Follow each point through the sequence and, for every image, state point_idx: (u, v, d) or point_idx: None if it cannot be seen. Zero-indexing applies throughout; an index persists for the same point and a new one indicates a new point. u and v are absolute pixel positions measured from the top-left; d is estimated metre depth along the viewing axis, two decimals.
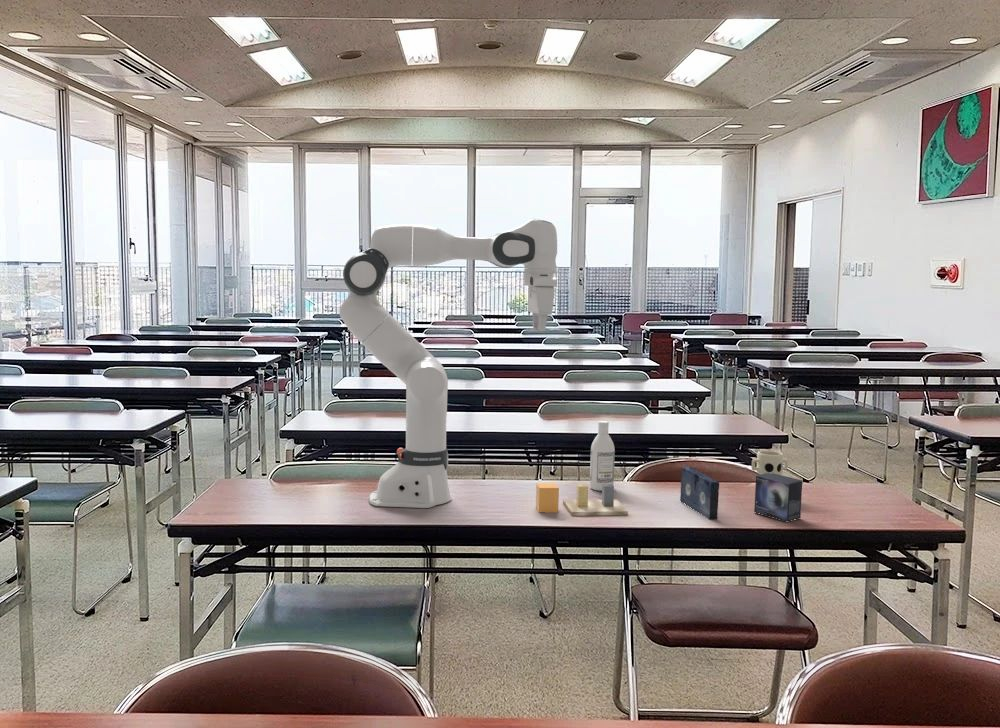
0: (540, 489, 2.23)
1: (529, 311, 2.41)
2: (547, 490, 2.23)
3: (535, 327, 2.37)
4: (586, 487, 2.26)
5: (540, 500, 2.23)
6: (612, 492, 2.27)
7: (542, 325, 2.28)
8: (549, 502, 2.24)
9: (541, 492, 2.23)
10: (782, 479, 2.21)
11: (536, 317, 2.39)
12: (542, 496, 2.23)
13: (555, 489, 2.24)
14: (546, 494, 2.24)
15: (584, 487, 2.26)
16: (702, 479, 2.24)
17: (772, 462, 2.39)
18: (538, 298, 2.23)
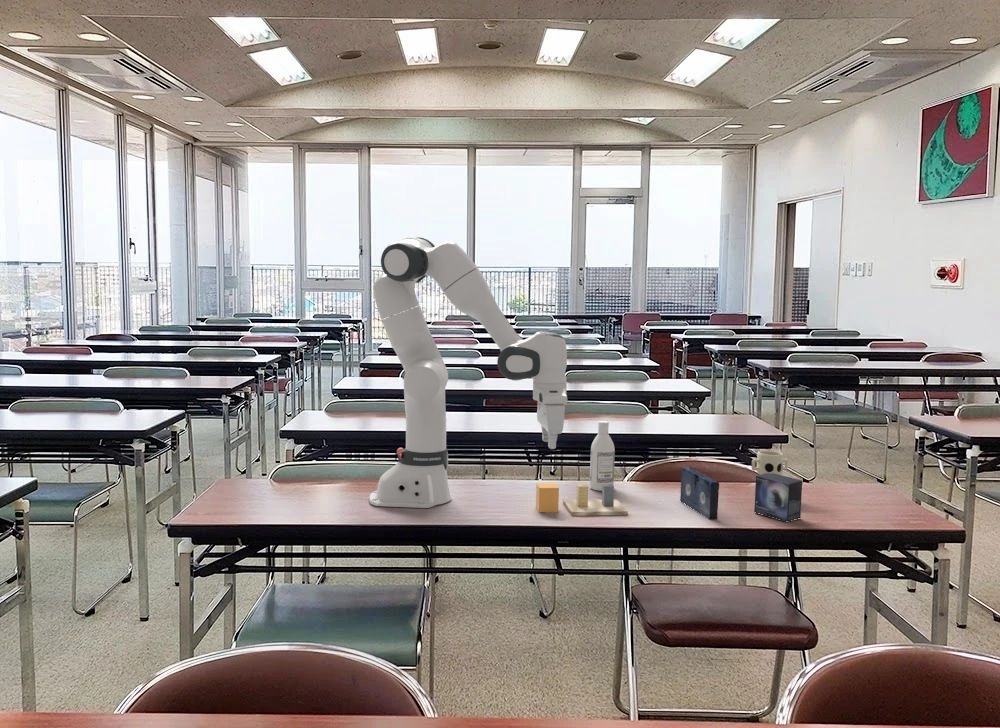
0: (540, 489, 2.23)
1: (538, 421, 2.32)
2: (547, 490, 2.23)
3: (544, 440, 2.29)
4: (586, 487, 2.26)
5: (540, 500, 2.23)
6: (612, 492, 2.27)
7: (552, 442, 2.19)
8: (549, 502, 2.24)
9: (541, 492, 2.23)
10: (782, 479, 2.21)
11: (545, 429, 2.30)
12: (542, 496, 2.23)
13: (555, 489, 2.24)
14: (546, 494, 2.24)
15: (584, 487, 2.26)
16: (702, 479, 2.24)
17: (772, 462, 2.39)
18: (548, 417, 2.14)
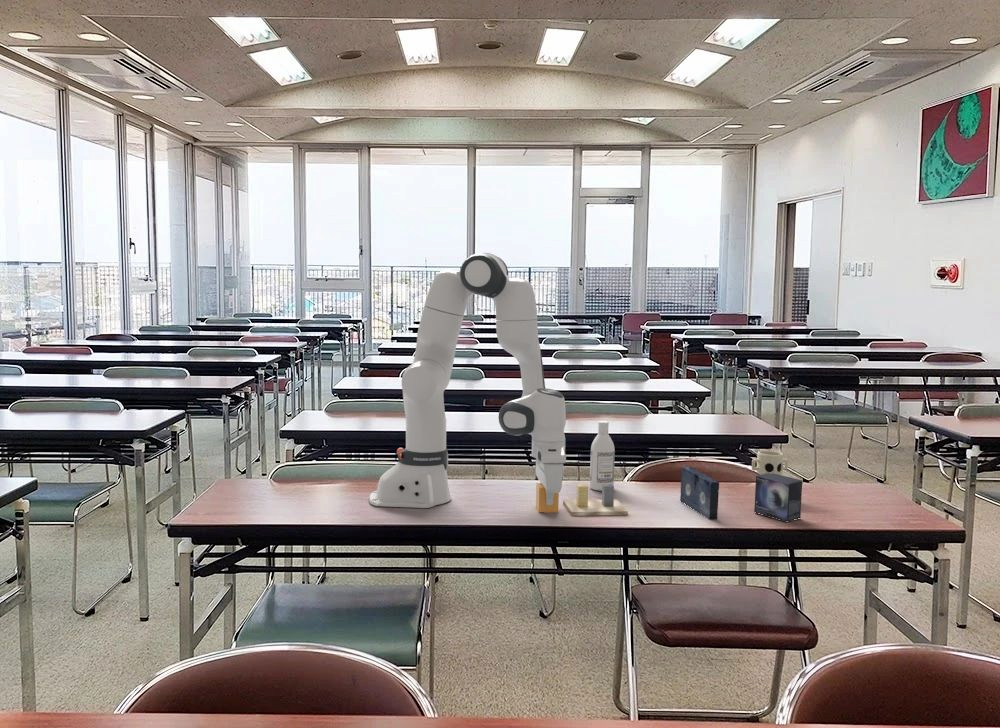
0: (540, 489, 2.23)
1: None
2: None
3: None
4: (586, 487, 2.26)
5: (540, 500, 2.24)
6: (612, 492, 2.27)
7: (549, 499, 2.22)
8: None
9: (541, 492, 2.23)
10: (782, 479, 2.21)
11: None
12: (542, 496, 2.23)
13: None
14: None
15: (584, 487, 2.26)
16: (702, 479, 2.24)
17: (772, 462, 2.39)
18: (546, 476, 2.16)
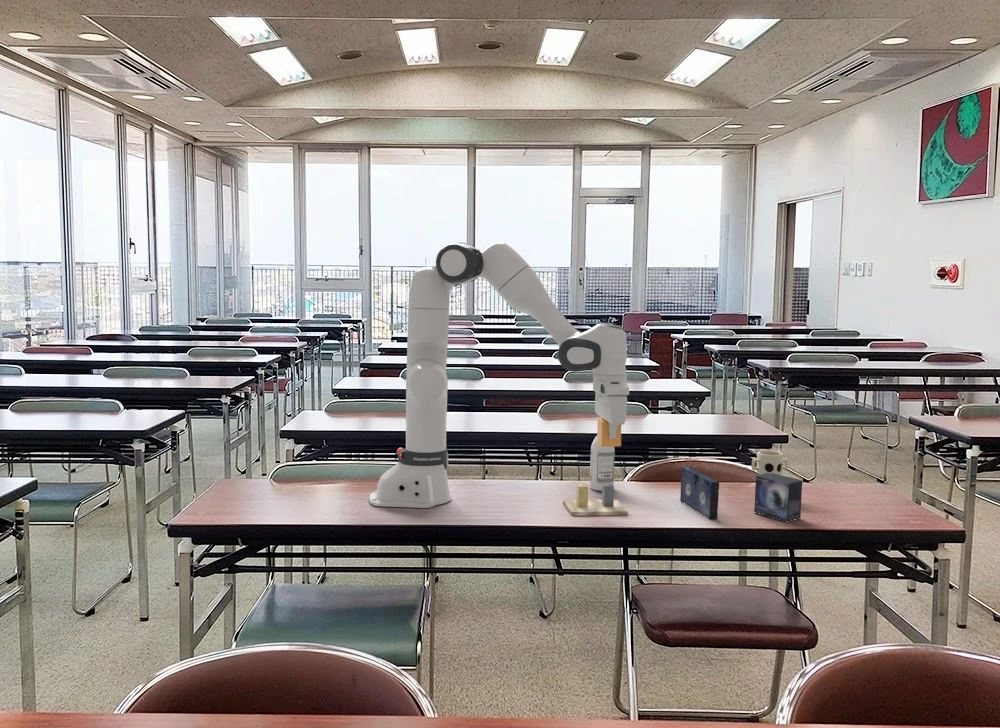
0: (603, 423, 2.23)
1: (596, 413, 2.34)
2: None
3: None
4: (586, 487, 2.26)
5: (603, 434, 2.23)
6: (612, 492, 2.27)
7: (612, 432, 2.22)
8: None
9: (604, 426, 2.23)
10: (782, 479, 2.21)
11: None
12: (605, 430, 2.23)
13: None
14: None
15: (584, 487, 2.26)
16: (702, 479, 2.24)
17: (772, 462, 2.39)
18: (611, 408, 2.16)
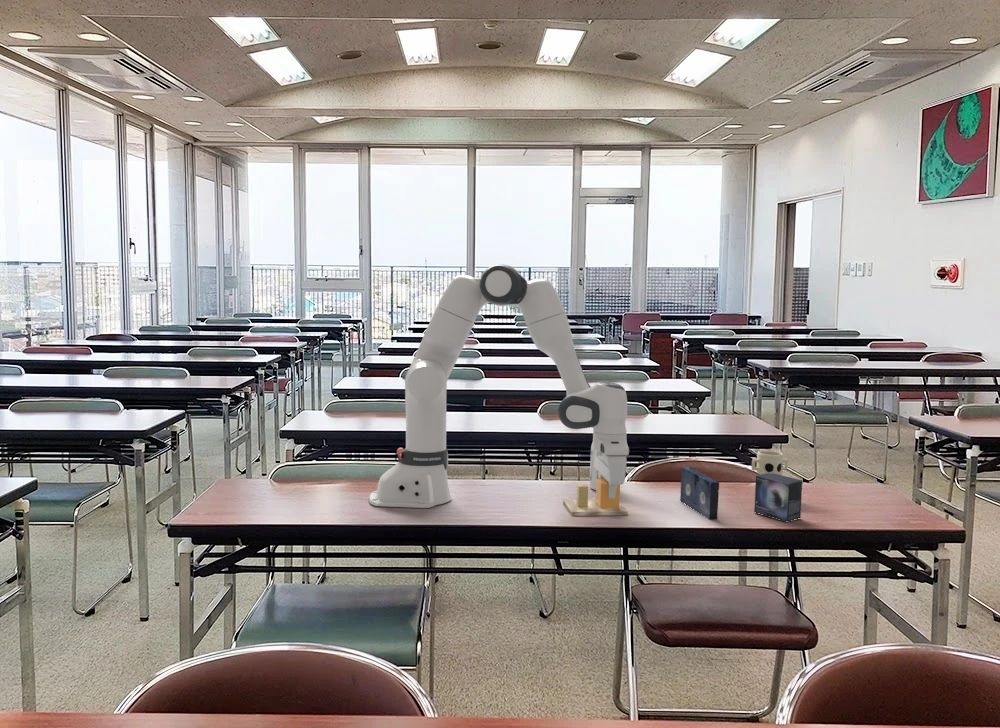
0: (602, 485, 2.25)
1: None
2: (608, 486, 2.25)
3: None
4: (586, 487, 2.26)
5: (601, 496, 2.25)
6: None
7: (612, 492, 2.23)
8: (610, 498, 2.26)
9: (603, 487, 2.25)
10: (782, 479, 2.21)
11: (603, 477, 2.33)
12: (603, 492, 2.25)
13: None
14: (607, 490, 2.25)
15: (584, 487, 2.26)
16: (702, 479, 2.24)
17: (772, 462, 2.39)
18: (610, 468, 2.17)
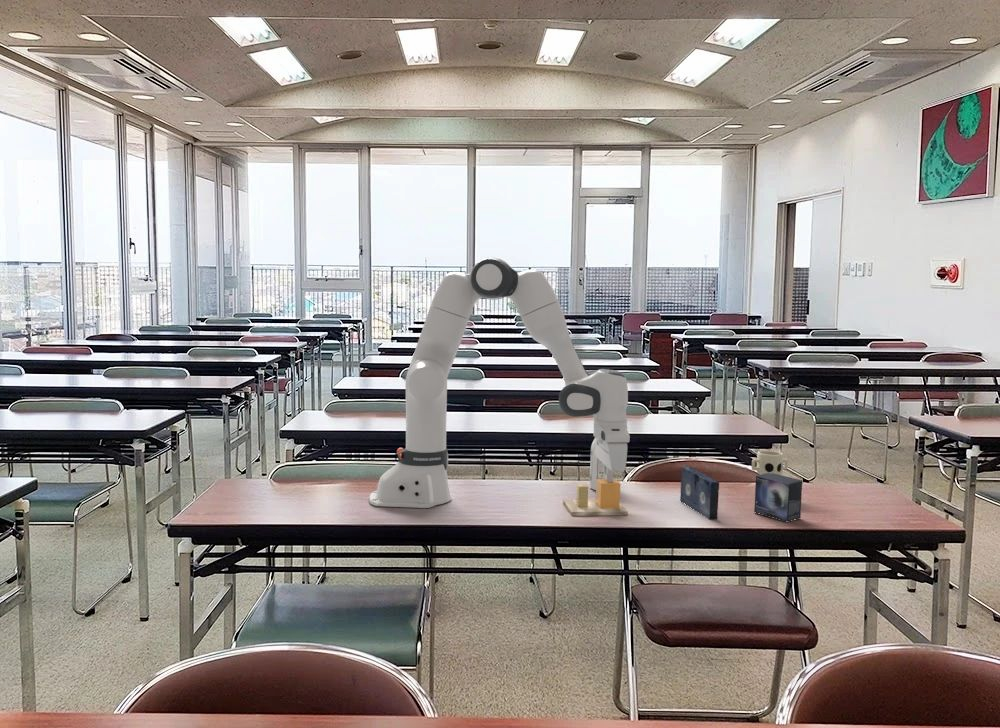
0: (602, 484, 2.25)
1: None
2: (609, 486, 2.25)
3: None
4: (586, 487, 2.26)
5: (602, 495, 2.25)
6: None
7: (610, 476, 2.26)
8: (610, 497, 2.26)
9: (603, 487, 2.25)
10: (782, 479, 2.21)
11: None
12: (604, 491, 2.25)
13: (617, 485, 2.25)
14: (608, 490, 2.25)
15: (584, 487, 2.26)
16: (702, 479, 2.24)
17: (772, 462, 2.39)
18: (611, 455, 2.17)
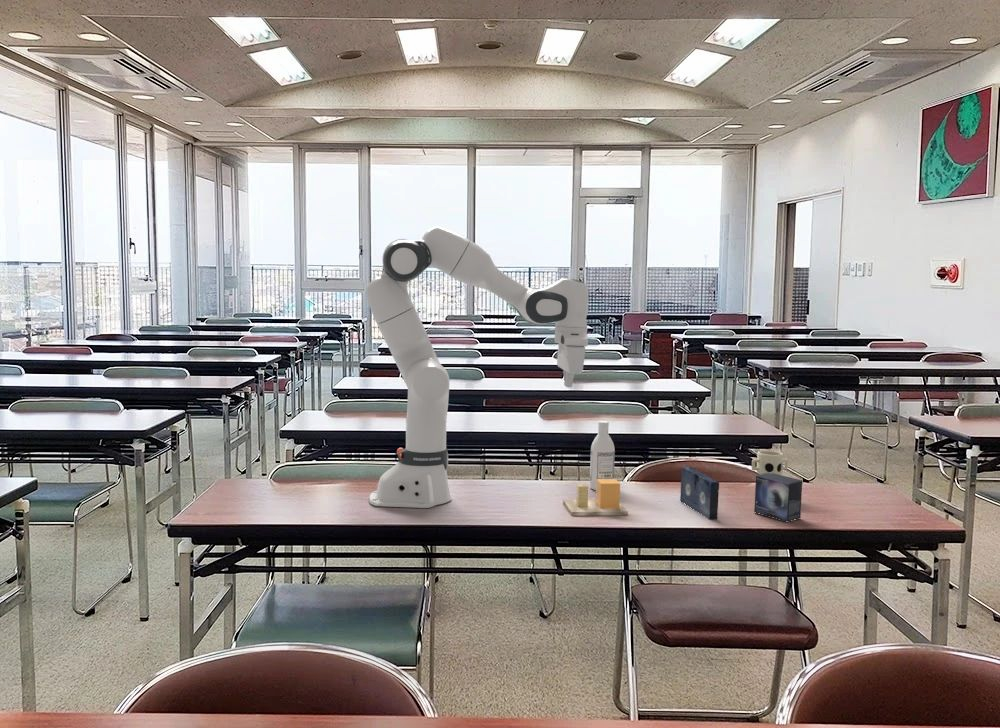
0: (602, 485, 2.25)
1: (558, 366, 2.44)
2: (608, 486, 2.25)
3: None
4: (586, 487, 2.26)
5: (601, 496, 2.25)
6: None
7: (569, 381, 2.34)
8: (610, 498, 2.26)
9: (603, 487, 2.25)
10: (782, 479, 2.21)
11: None
12: (603, 492, 2.25)
13: (616, 485, 2.25)
14: (607, 490, 2.25)
15: (584, 487, 2.26)
16: (702, 479, 2.24)
17: (772, 462, 2.39)
18: (569, 357, 2.26)
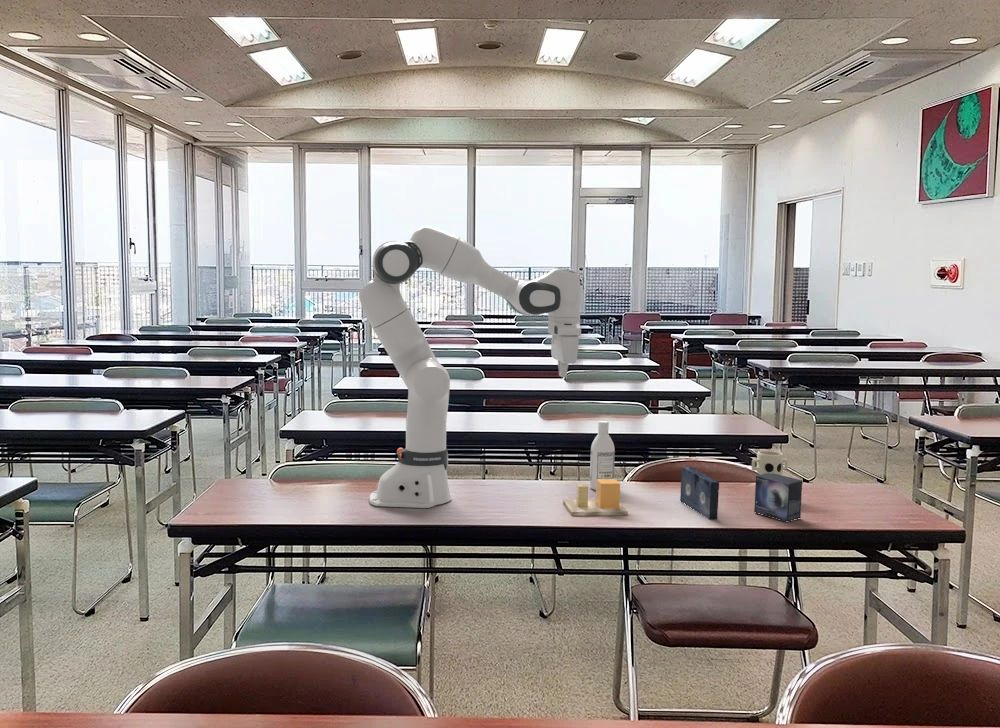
0: (602, 485, 2.25)
1: None
2: (608, 486, 2.25)
3: None
4: (586, 487, 2.26)
5: (601, 496, 2.25)
6: None
7: (563, 371, 2.36)
8: (610, 498, 2.26)
9: (603, 487, 2.25)
10: (782, 479, 2.21)
11: None
12: (603, 492, 2.25)
13: (616, 485, 2.25)
14: (607, 490, 2.25)
15: (584, 487, 2.26)
16: (702, 479, 2.24)
17: (772, 462, 2.39)
18: (563, 347, 2.27)
